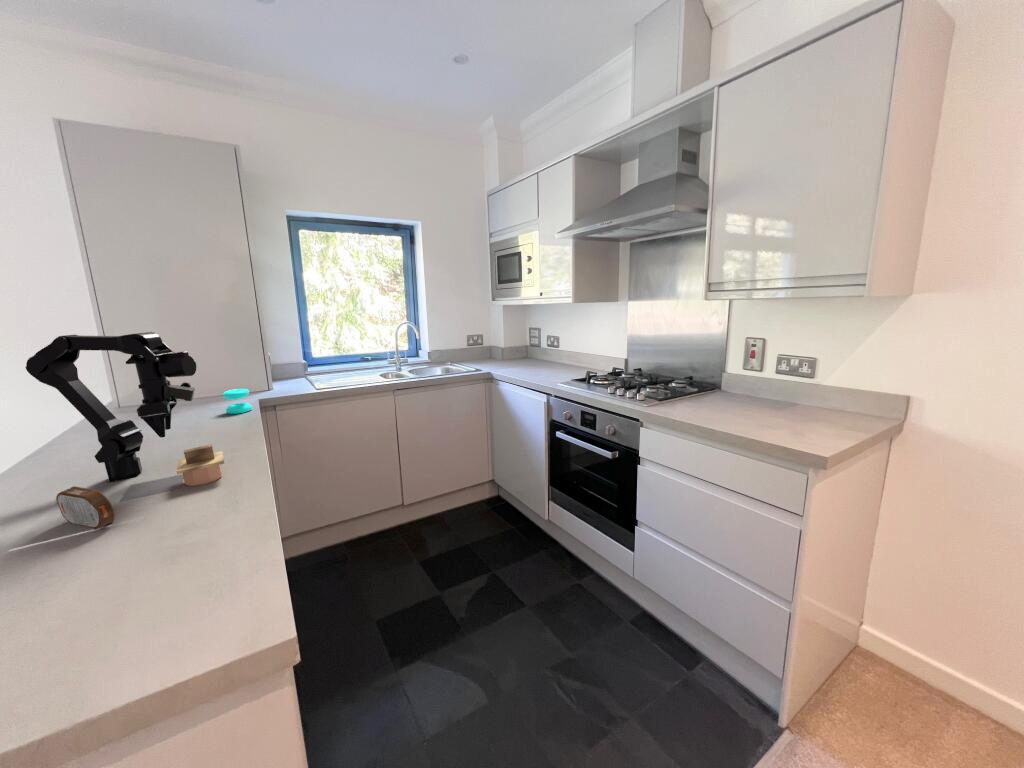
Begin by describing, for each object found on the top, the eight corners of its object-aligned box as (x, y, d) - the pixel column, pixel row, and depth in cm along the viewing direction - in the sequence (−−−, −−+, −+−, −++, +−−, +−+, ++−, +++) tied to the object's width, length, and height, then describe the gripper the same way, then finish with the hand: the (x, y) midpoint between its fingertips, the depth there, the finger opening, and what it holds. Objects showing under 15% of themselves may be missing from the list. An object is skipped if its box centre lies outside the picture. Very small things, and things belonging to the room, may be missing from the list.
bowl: (184, 490, 109) (180, 472, 108) (188, 480, 116) (184, 463, 115) (221, 482, 113) (217, 464, 112) (223, 472, 120) (219, 455, 119)
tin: (119, 525, 93) (110, 489, 91) (102, 533, 90) (91, 496, 88) (78, 517, 98) (68, 483, 96) (60, 524, 95) (49, 489, 93)
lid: (177, 474, 107) (173, 458, 106) (179, 463, 115) (175, 448, 114) (224, 463, 113) (221, 448, 112) (223, 453, 121) (220, 439, 120)
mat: (119, 503, 104) (118, 502, 103) (130, 486, 114) (130, 485, 114) (180, 489, 110) (179, 488, 109) (186, 474, 120) (185, 473, 120)
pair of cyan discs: (237, 392, 185) (216, 393, 186) (241, 414, 187) (221, 415, 188) (253, 387, 194) (234, 388, 196) (257, 408, 196) (238, 409, 198)
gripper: (184, 378, 112) (197, 435, 115) (192, 370, 128) (203, 420, 131) (130, 385, 107) (144, 444, 110) (145, 376, 122) (157, 427, 125)
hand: (165, 433), depth 119 cm, fingers open, 9 cm apart
